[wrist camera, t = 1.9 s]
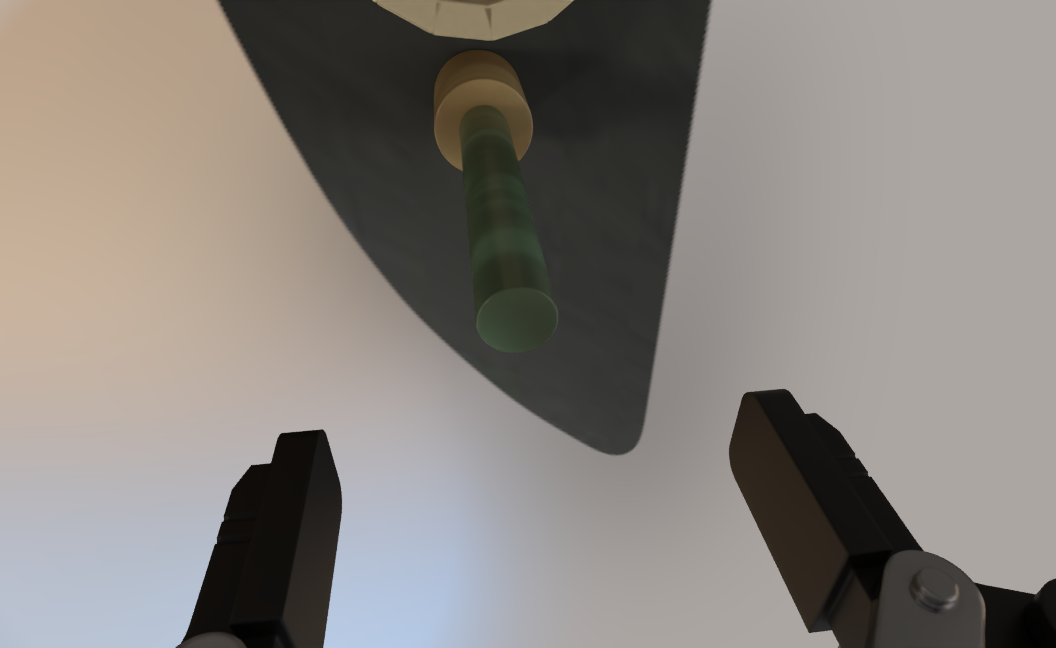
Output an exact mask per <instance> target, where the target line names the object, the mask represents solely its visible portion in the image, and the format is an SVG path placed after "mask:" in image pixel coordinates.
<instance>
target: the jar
mask: <svg viewBox="0 0 1056 648" xmlns="http://www.w3.org/2000/svg"><path fill="white" fill-rule="evenodd" d="M373 1H374V2H377V4H378V5H379V6H381V7H383V8H385V9H386V10H388V11H390V12H392V13H394V14H396V15H397V16H399V17H401V18H403V19H405V20H407V21H408V22H410V23H412V24H414V25H416V26H417V27H419V28H421V29H423V30H425V31H427V32H428V33H433V34H434V35H439V36H448V37H458V38H468V39H478V40H487V41H490V40H491V39H492V40H493V41H494V40H497V39H500V38H503V37H506V36H509V35H512V34H515V33H518V32H521V31H524V30H527V29H530V28H533V27H537V26H540V25H543V24H546V23H547V22H548V21H551V20H552V19H553V18H554V17H555V16H556V15H557V14H559V13H560V12H561V11H562V10H563V9H564V8H566V7H567V6H568V5H569V4H570V3H571V2H572V1H574V0H373Z"/></svg>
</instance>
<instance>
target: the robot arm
mask: <svg viewBox="0 0 1056 648" xmlns="http://www.w3.org/2000/svg"><path fill="white" fill-rule="evenodd" d="M729 458H730V465H731V469H732V472H733V475H734V477H735V480H736V482H737V484H738V486H739V488H740V490H741V492H742V494H743V496H744V498H745V500H746V503H747V505H748V507H749V509H750V511H751V513H752V515H753V517H754V519H755V521H756V523H757V526H758V528H759V530H760V532H761V534H762V536H763V538H764V540H765V542H766V544H767V546H768V548H769V551H770V552H771V555H772V557H773V559H774V561H775V563H776V565H777V567H778V569H779V571H780V573H781V576H782V578H783V580H784V582H785V584H786V586H787V588H788V590H789V592H790V594H791V596H792V598H793V600H794V603H795V604H796V607H797V609H798V611H799V613H800V615H801V617H802V619H803V621H804V623H805V626H806V628H807V629H808V632H809V633H812V632H820V631H828V630H832V631H833V633H834V635H835V637H836V639H837V641H838V642H839V647H838V648H1056V579H1053V580H1051V581H1049V582H1047V583H1046V584H1045V585H1044V586H1043V587H1042V588H1041V590H1040V591H1039V592H1038V593H1037V594H1030V593H1025V592H1019V591H1014V590H1009V589H1003V588H998V587H992V586H987V585H982V584H978V583H974V582H973V581H972V580H971V579H970V578H969V577H968V576H967V575H966V574H965V573H964V572H963V571H962V570H961V569H960V568H958V567H957V566H955V565H954V564H953V563H951V562H949V561H948V560H946V559H944V558H942V557H939V556H937V555H935V554H932V553H929V552H924V551H923V549H922V548H921V547H920V546H919V544H918V543H917V542H916V540H915V539H914V537H913V536H912V534H911V533H910V532H909V530H908V529H907V527H906V526H905V524H904V523H903V522H902V520H901V519H900V517H899V516H898V514H897V513H896V511H895V510H894V509H893V507H892V506H891V505H890V503H889V501H888V500H887V499H886V497H885V496H884V494H883V493H882V492H881V490H880V489H879V487H878V486H877V484H876V483H875V481H874V480H873V479H872V477H869V476H868V471H867V470H866V469H865V467H864V466H863V464H862V463H861V461H860V460H859V459H858V458H857V459H856V457H855V453H854V451H853V450H852V449H851V447H850V446H849V444H848V443H847V441H846V440H845V439H844V437H843V436H842V434H841V433H840V432H839V431H838V430H837V429H836V428H834V427H833V426H832V425H831V424H829V423H828V422H827V421H825V420H824V419H823V418H822V417H820V416H819V415H818V414H816V413H811V414H804V412H803V410H802V409H801V407H800V406H799V404H798V403H797V402H796V400H795V398H794V397H793V396H792V394H791V393H790V392H789V391H788V390H786V389H777V390H767V391H755V392H747V393H745V394H744V395H743V397H742V400H741V405H740V408H739V411H738V416H737V419H736V423H735V427H734V431H733V434H732V438H731V442H730V446H729ZM341 513H342V495H341V486H340V481H339V477H338V474H337V470H336V467H335V464H334V460H333V456H332V453H331V450H330V446H329V442H328V439H327V436H326V433H325V432H324V430H312V431H302V432H290V433H281V434H280V435H279V437H278V439H277V443H276V447H275V450H274V454H273V458H272V462H271V463H270V464H260V465H251V467H250V468H249V469H248V470H247V471H246V473H245V474H244V475H243V476H242V478H241V479H240V480H239V482H238V483H237V484H236V485H235V487H234V488H233V489H232V491H231V495H230V498H229V502H228V504H227V508H226V511H225V514H224V522H222V524H221V526H220V530H219V533H218V536H217V544H215V546H214V549H213V552H212V555H211V559H210V561H209V565H208V568H207V571H206V574H205V578H204V581H203V584H202V587H201V590H200V593H199V597H198V600H197V603H196V606H195V609H194V612H193V616H192V619H191V622H190V625H189V628H188V630H187V633H186V635H185V637H184V639H183V641H182V642H181V644H180V645H178V646H177V647H176V648H323V645H324V638H325V631H326V623H327V616H328V609H329V601H330V594H331V587H332V580H333V573H334V565H335V558H336V551H337V543H338V536H339V529H340V522H341Z"/></svg>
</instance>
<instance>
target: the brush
mask: <svg viewBox="0 0 1056 648" xmlns="http://www.w3.org/2000/svg"><path fill="white" fill-rule="evenodd" d="M434 133H435V139H436V142H437V145H438V147H439V149H440V151H441V153H442V154H443V156H444V157H445V158H446V159H447V160H448V161H449V162H450V163H451V164H452V165H453V166H455V167H456V168H458V169H460V170H461V171H463V180H464V191H465V202H466V214H467V225H468V236H469V248H470V259H471V271H472V282H473V293H474V305H475V316H476V326H477V330H478V333H479V335H480V336H481V338H482V339H483V340H484V341H485V342H486V343H487V344H488V345H489V346H491V347H493V348H494V349H497V350H499V351H502V352H507V353H521V352H526V351H530V350H533V349H535V348H537V347H539V346H541V345H542V344H544V343H545V342H546V341H547V340H548V339H549V338H550V337H551V336H552V334H553V333H554V331H555V329H556V327H557V323H558V310H557V306H556V303H555V299H554V295H553V291H552V288H551V284H550V280H549V276H548V272H547V269H546V265H545V261H544V257H543V254H542V250H541V246H540V242H539V238H538V235H537V231H536V227H535V223H534V220H533V216H532V212H531V208H530V205H529V201H528V197H527V193H526V189H525V186H524V182H523V178H522V174H521V171H520V167H519V163H518V161H519V160H520V159H521V158H522V157H523V155H524V154H525V152H526V151H527V149H528V147H529V145H530V142H531V138H532V133H533V120H532V115H531V112H530V109H529V106H528V104H527V101H526V98H525V95H524V93H523V90H522V87H521V84H520V81H519V79H518V76H517V74H516V72H515V70H514V69H513V68H512V66H511V65H510V64H509V63H508V62H507V61H506V60H505V59H504V58H502V57H501V56H499V55H497V54H495V53H493V52H490V51H486V50H468V51H464V52H462V53H459V54H457V55H456V56H454V57H452V58H451V59H450V60H449V61H448V62H447V63H446V64H445V65H444V66H443V67H442V69H441V70H440V72H439V74H438V76H437V79H436V82H435V87H434Z"/></svg>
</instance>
